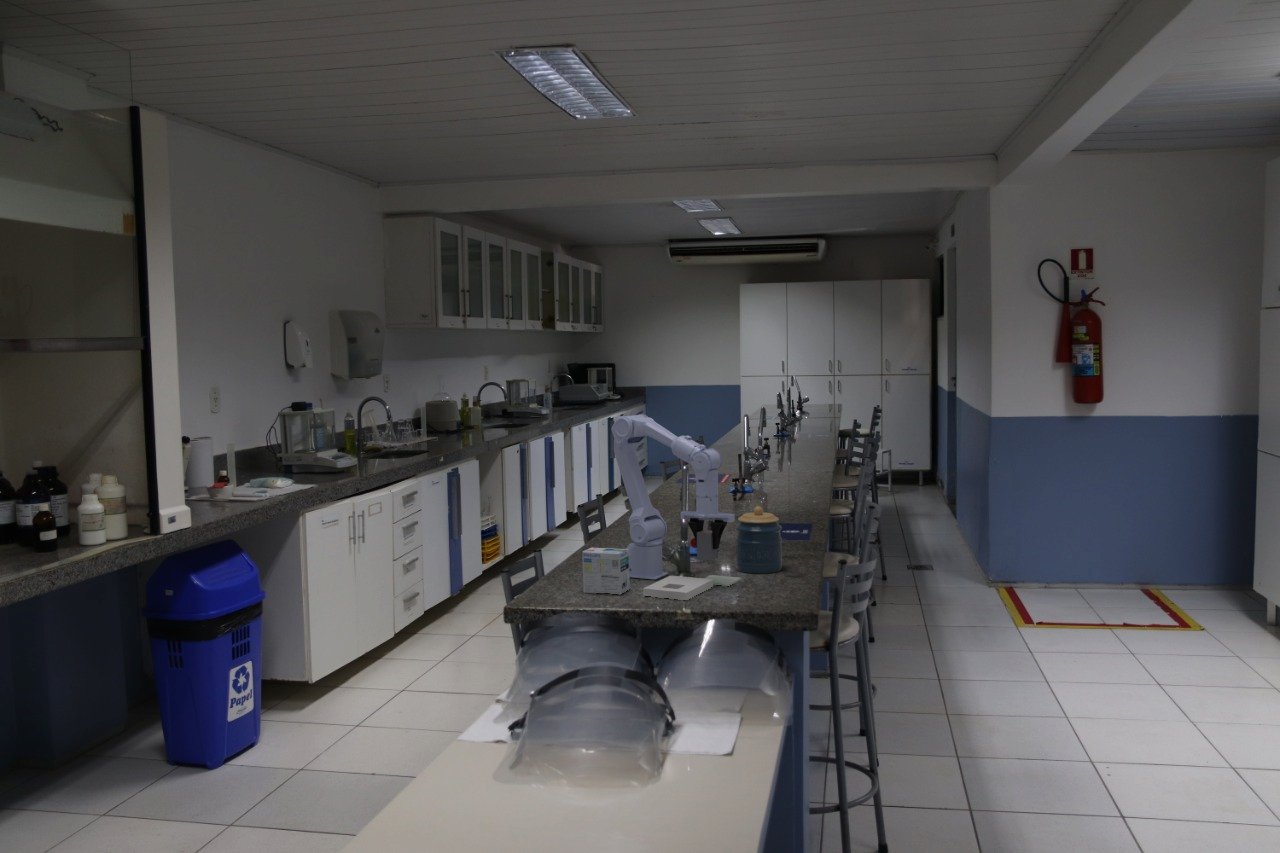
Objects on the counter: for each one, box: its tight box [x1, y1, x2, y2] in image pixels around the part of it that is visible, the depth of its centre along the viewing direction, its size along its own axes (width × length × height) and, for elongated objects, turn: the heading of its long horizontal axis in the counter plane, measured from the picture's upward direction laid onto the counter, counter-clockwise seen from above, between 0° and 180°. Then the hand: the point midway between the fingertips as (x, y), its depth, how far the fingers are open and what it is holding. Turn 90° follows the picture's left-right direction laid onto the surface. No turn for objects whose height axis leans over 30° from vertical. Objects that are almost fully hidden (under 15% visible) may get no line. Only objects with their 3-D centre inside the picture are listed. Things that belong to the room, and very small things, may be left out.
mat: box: [703, 574, 743, 587], centre depth 266 cm, size 9×9×1 cm
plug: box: [696, 529, 719, 561], centre depth 262 cm, size 4×4×7 cm
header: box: [642, 575, 714, 601], centre depth 255 cm, size 12×16×2 cm
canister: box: [734, 505, 783, 574], centre depth 280 cm, size 13×13×18 cm
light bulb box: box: [581, 546, 631, 595], centre depth 257 cm, size 11×7×11 cm, turn 71°
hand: (707, 548), depth 262 cm, fingers closed on plug, 4 cm apart
